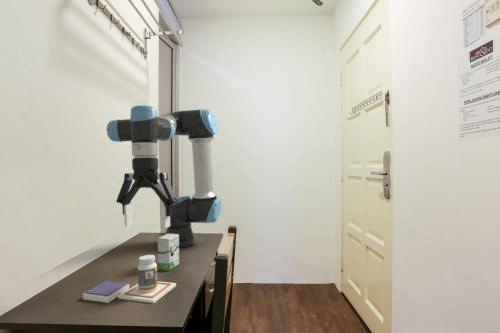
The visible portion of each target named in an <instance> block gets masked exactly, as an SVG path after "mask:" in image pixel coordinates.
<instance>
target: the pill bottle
mask: <svg viewBox="0 0 500 333" xmlns="http://www.w3.org/2000/svg"><path fill="white" fill-rule="evenodd" d="M155 261H156V255H153V254H146V255H145V254H144V255H142V256H140V257H139V258H138V263H139V264H138V266H137V284H138V290H139V291H140V292H143V293H147V292H151V291H154V290H156V289H157V287H158V263H156V262H155Z"/></svg>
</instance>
